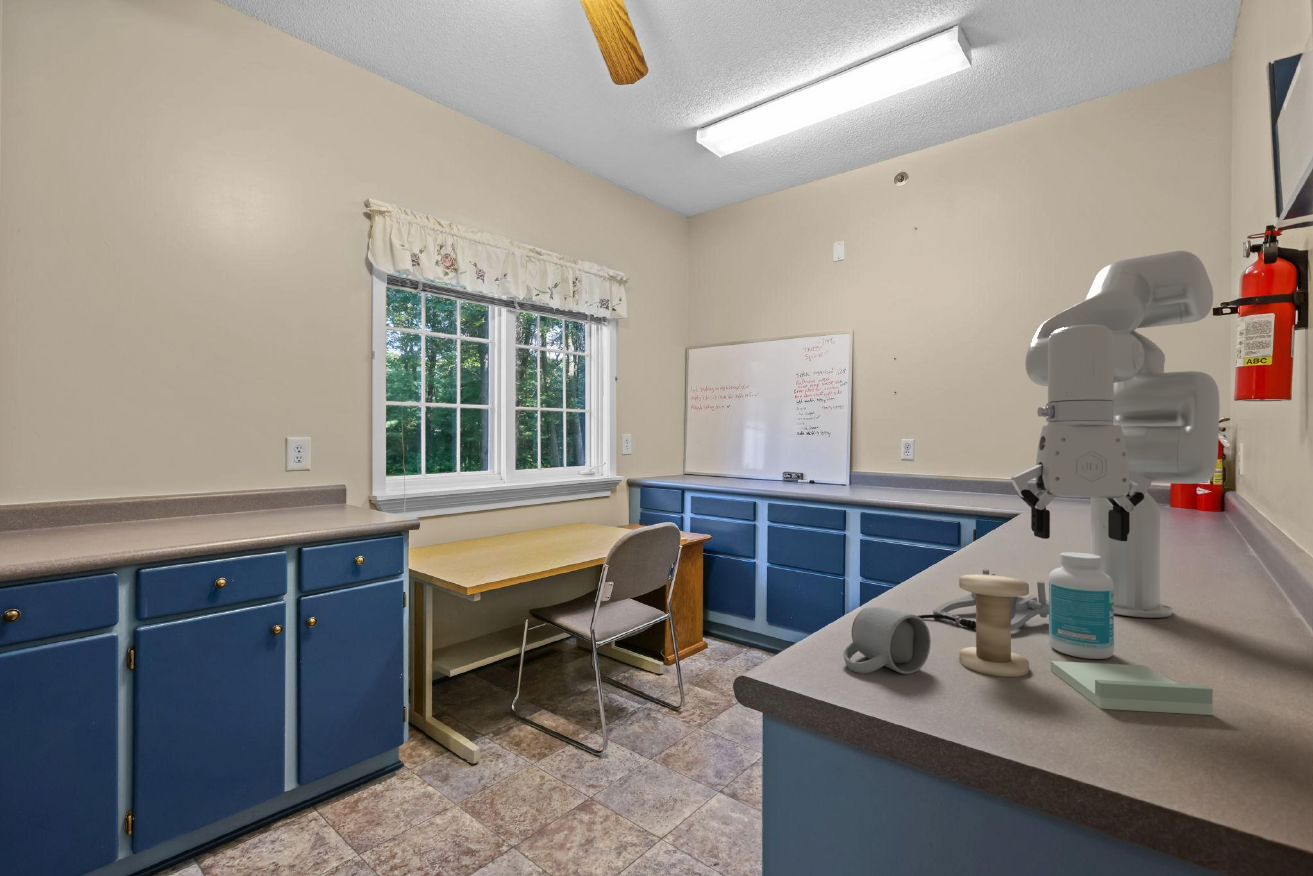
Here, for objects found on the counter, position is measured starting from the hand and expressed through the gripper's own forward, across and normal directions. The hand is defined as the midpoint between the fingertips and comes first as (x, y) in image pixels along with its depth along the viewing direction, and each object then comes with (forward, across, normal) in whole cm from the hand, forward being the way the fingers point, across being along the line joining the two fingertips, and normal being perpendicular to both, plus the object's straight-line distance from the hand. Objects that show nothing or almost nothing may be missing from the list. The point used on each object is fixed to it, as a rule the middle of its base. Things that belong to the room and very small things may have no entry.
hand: (1079, 538), depth 84 cm
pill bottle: (+16, +1, +1) cm, 16 cm away
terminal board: (+16, -1, -13) cm, 21 cm away
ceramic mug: (+17, -28, -8) cm, 34 cm away
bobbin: (+16, -13, -6) cm, 22 cm away
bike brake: (+16, -8, +13) cm, 22 cm away
